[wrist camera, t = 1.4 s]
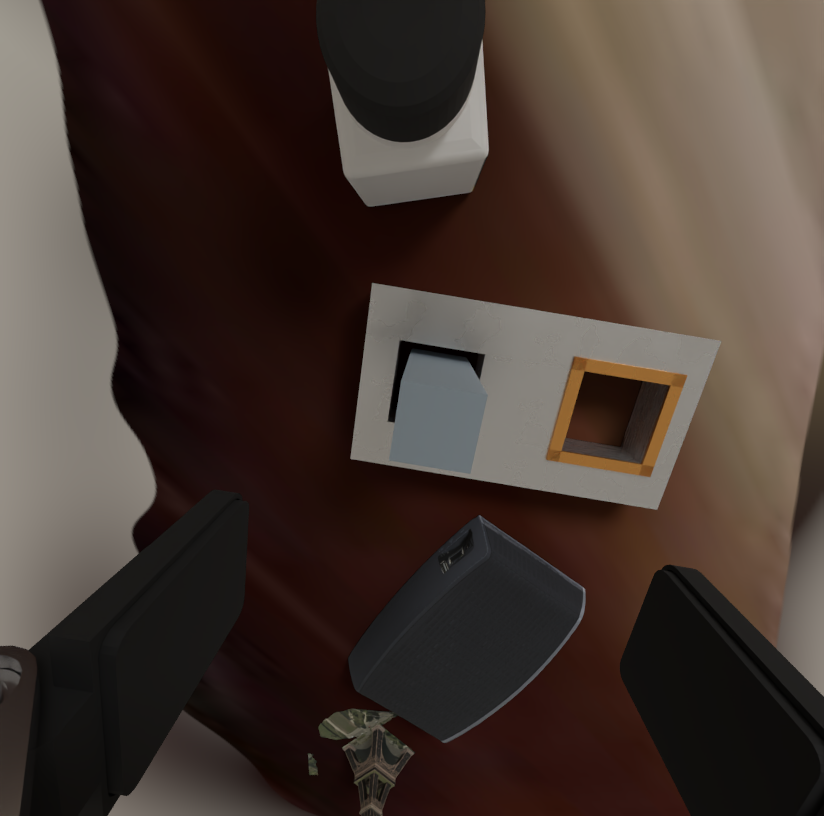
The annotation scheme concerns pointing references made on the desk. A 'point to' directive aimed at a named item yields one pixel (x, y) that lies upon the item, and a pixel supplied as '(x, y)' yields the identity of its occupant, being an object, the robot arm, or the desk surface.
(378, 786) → the eiffel tower figurine
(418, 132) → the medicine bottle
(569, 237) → the desk surface
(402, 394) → the peg
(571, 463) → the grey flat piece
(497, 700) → the external hard drive
